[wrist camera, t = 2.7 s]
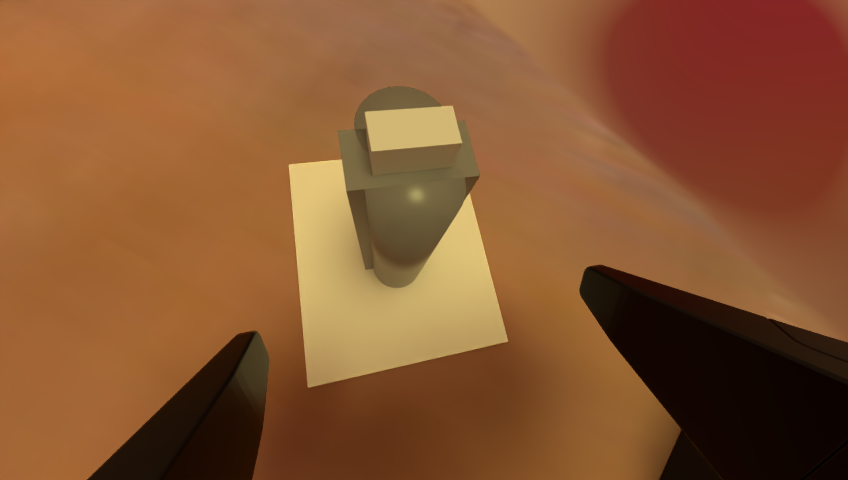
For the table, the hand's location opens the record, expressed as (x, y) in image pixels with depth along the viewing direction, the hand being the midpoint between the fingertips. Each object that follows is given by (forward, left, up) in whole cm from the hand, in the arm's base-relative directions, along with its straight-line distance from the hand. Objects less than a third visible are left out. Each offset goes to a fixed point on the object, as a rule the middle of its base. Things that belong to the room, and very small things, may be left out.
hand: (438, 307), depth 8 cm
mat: (+4, +2, -11) cm, 12 cm away
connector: (+4, +2, -11) cm, 12 cm away
